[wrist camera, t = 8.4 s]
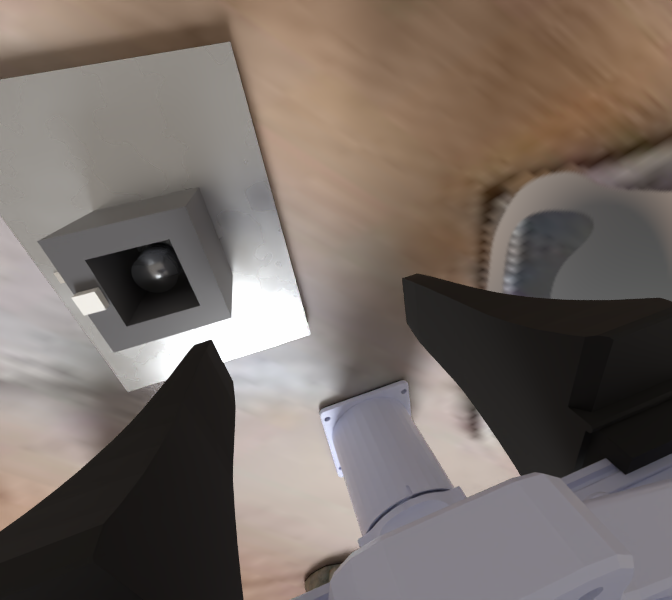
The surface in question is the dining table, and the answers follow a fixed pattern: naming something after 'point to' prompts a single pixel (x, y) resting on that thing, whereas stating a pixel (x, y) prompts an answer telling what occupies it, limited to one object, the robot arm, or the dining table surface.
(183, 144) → the shaft plate
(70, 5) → the dining table surface
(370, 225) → the dining table surface
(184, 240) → the hollow square box
